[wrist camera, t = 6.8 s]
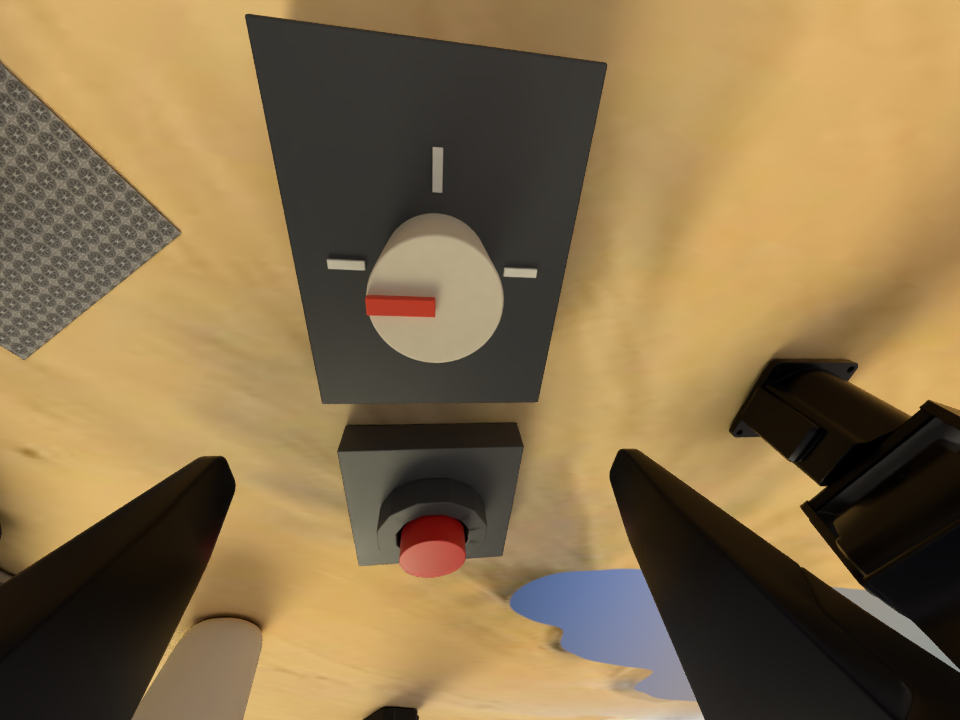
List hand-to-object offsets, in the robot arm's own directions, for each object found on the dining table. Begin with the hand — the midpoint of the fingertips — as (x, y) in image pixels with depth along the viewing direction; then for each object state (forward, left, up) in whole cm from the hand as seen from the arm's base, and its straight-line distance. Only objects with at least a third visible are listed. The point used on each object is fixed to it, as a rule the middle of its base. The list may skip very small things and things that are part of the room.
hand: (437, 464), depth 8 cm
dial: (0, -2, -8) cm, 9 cm away
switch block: (0, +15, -11) cm, 19 cm away
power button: (0, +15, -8) cm, 17 cm away
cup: (+20, +35, -12) cm, 42 cm away
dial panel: (0, -2, -11) cm, 12 cm away
